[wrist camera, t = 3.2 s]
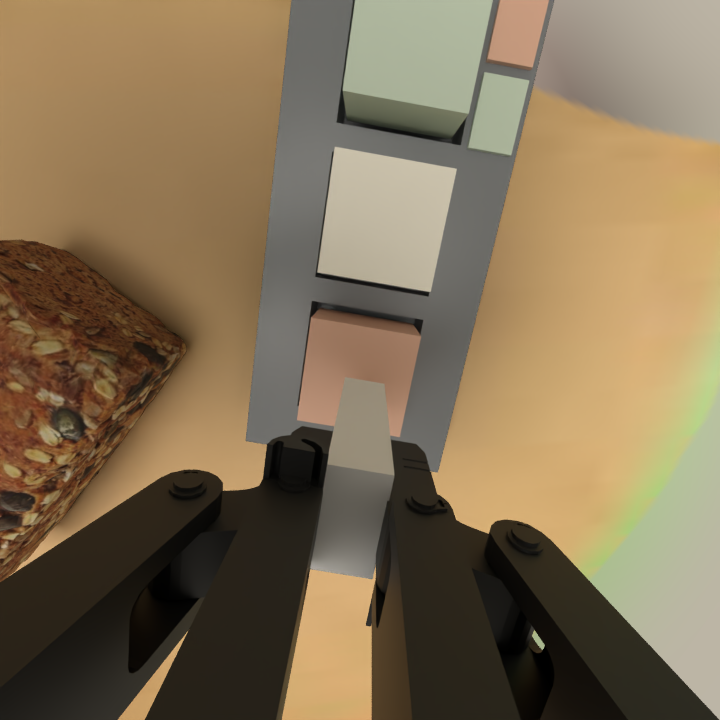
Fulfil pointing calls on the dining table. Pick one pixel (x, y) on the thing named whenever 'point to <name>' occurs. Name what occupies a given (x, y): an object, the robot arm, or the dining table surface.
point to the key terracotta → (356, 363)
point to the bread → (65, 385)
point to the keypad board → (463, 152)
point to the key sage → (414, 63)
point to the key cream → (384, 219)
